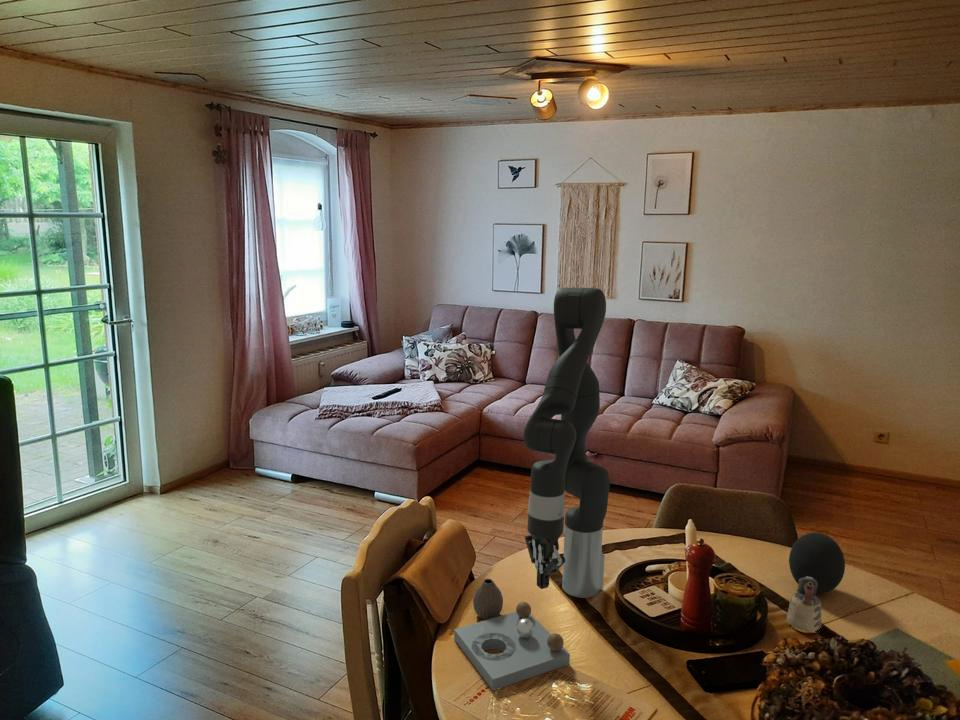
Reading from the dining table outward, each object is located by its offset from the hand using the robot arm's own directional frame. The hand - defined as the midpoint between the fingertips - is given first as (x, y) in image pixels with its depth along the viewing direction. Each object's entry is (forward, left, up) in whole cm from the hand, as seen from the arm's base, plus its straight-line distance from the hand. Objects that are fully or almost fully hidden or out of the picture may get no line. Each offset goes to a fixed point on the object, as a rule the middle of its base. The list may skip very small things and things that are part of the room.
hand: (542, 586), depth 144 cm
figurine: (-57, +21, -14) cm, 63 cm away
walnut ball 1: (+1, -6, -9) cm, 11 cm away
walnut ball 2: (+1, +7, -9) cm, 11 cm away
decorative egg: (-72, +12, -13) cm, 75 cm away
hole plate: (+8, 0, -13) cm, 15 cm away
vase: (+6, -14, -14) cm, 20 cm away
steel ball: (+4, 0, -9) cm, 10 cm away
